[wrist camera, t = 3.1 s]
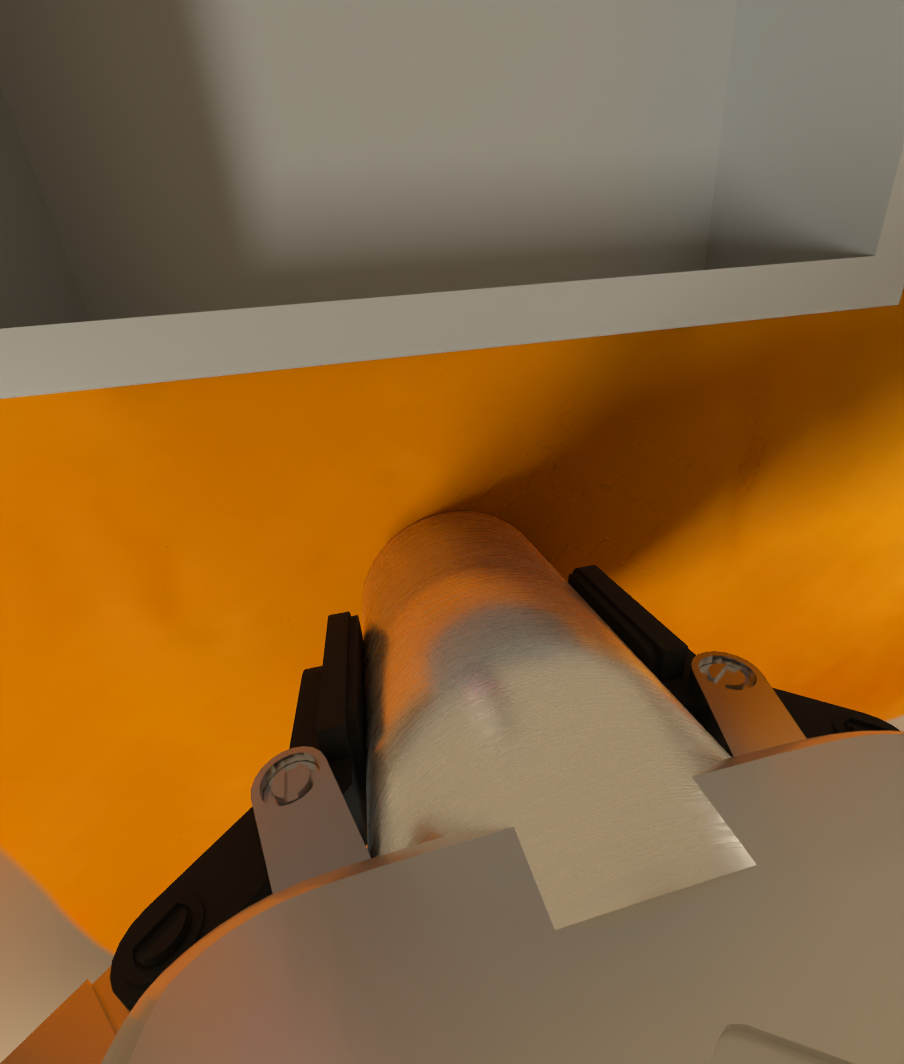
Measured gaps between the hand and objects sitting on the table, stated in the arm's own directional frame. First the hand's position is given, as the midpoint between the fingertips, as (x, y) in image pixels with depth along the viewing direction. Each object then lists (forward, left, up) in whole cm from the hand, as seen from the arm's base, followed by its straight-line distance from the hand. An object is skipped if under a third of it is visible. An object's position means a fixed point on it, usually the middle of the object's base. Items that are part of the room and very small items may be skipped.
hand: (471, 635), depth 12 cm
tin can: (0, 0, -2) cm, 2 cm away
